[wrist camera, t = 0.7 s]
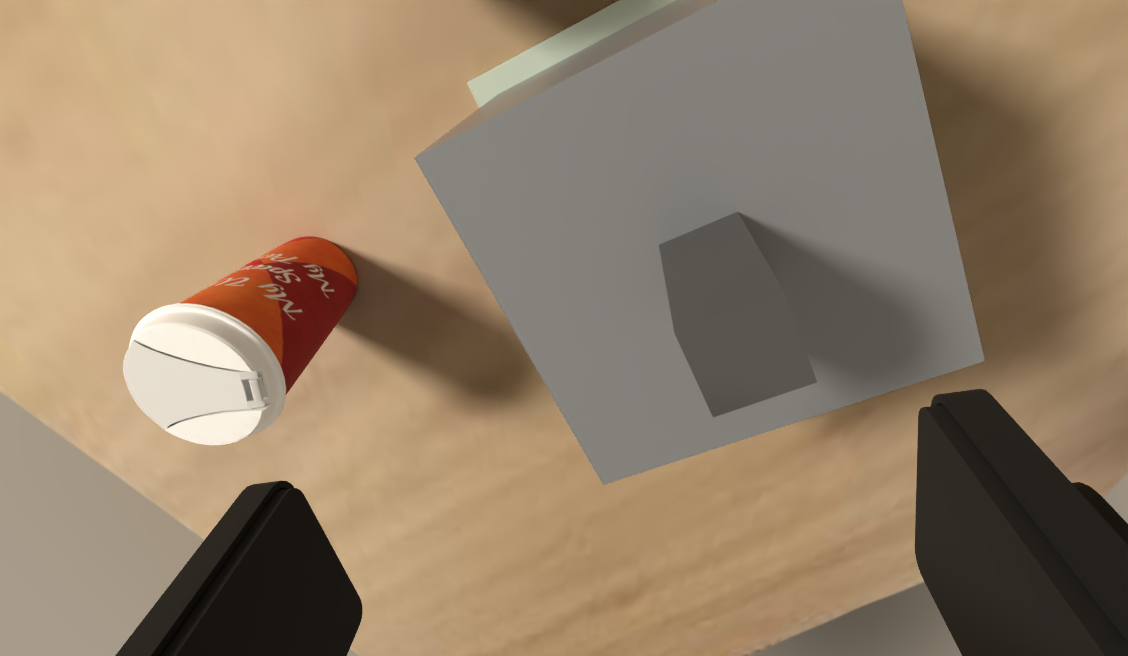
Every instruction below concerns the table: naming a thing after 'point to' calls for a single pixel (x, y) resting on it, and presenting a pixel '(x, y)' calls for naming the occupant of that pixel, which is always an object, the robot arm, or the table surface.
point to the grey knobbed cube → (716, 224)
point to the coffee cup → (239, 343)
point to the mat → (561, 46)
